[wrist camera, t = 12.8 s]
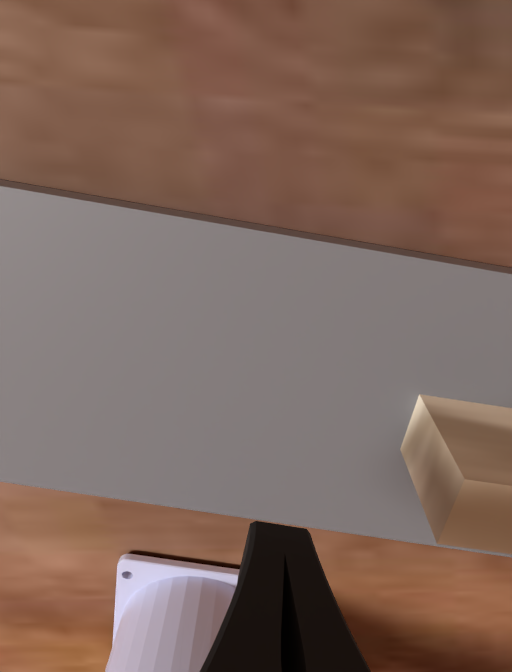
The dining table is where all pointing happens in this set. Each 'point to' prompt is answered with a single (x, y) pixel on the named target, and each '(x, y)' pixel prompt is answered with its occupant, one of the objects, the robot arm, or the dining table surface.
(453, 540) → the birch slat
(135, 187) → the dining table surface
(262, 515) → the assembly board
